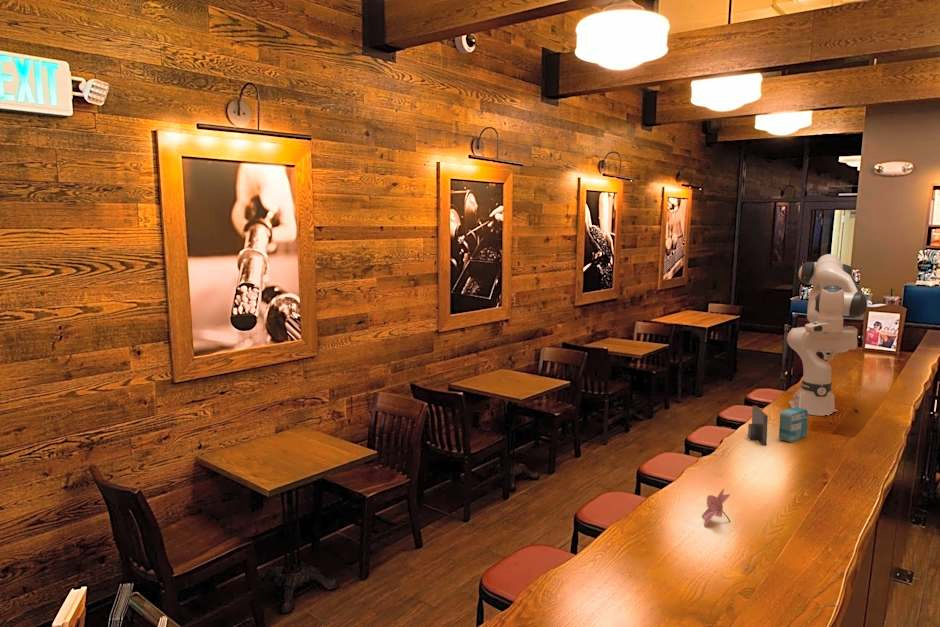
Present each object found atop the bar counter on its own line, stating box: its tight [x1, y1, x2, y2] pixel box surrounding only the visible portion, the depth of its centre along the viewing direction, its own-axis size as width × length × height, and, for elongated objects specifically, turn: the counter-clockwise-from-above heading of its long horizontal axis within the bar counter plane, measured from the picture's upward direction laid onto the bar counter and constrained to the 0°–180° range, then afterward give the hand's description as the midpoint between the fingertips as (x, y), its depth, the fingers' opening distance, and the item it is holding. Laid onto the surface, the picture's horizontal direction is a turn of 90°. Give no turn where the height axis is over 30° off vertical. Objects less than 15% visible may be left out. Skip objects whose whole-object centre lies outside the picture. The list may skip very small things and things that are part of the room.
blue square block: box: [778, 407, 809, 443], centre depth 251 cm, size 12×4×12 cm, turn 121°
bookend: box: [747, 405, 769, 446], centre depth 252 cm, size 14×4×12 cm, turn 172°
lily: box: [701, 488, 731, 528], centre depth 184 cm, size 12×12×10 cm
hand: (828, 359), depth 254 cm, fingers closed
